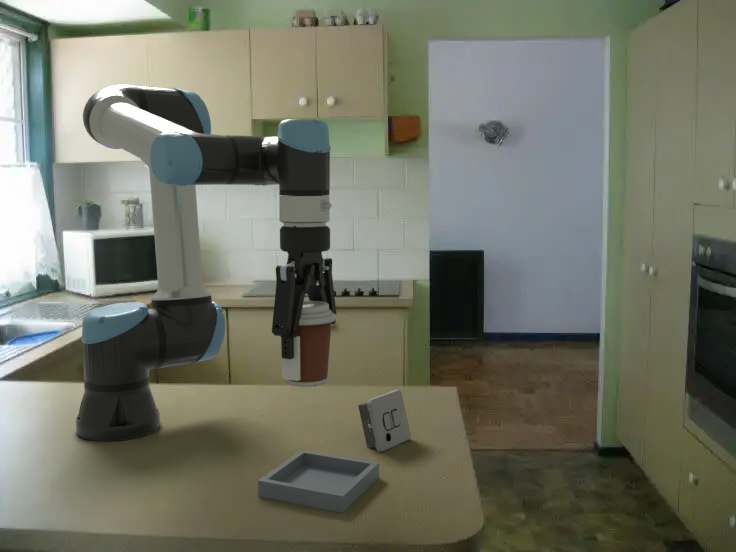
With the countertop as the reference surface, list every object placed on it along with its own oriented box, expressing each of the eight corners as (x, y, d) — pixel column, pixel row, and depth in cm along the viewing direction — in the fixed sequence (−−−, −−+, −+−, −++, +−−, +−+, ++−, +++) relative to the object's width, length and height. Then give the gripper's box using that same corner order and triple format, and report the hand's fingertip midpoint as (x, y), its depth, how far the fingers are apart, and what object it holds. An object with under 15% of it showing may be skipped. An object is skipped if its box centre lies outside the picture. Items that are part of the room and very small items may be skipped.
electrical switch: (380, 454, 133) (377, 401, 132) (358, 449, 136) (354, 398, 135) (412, 439, 140) (409, 390, 139) (389, 436, 143) (386, 387, 143)
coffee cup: (303, 371, 123) (302, 297, 122) (348, 379, 118) (347, 302, 116) (264, 382, 116) (262, 304, 114) (309, 392, 110) (308, 310, 109)
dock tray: (258, 496, 115) (258, 480, 114) (301, 464, 127) (301, 449, 127) (342, 512, 109) (343, 496, 109) (379, 477, 122) (379, 462, 122)
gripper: (291, 229, 102) (293, 392, 105) (357, 221, 122) (357, 359, 125) (244, 228, 105) (247, 386, 108) (315, 220, 125) (317, 355, 128)
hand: (306, 371), depth 116 cm, fingers closed on coffee cup, 9 cm apart
